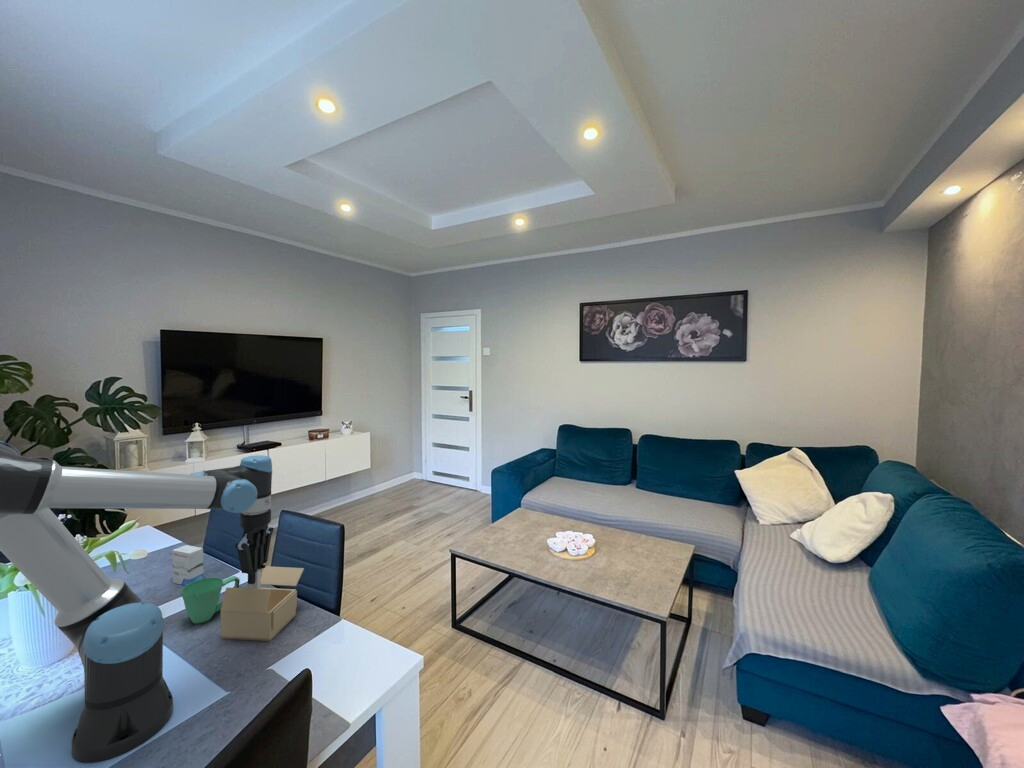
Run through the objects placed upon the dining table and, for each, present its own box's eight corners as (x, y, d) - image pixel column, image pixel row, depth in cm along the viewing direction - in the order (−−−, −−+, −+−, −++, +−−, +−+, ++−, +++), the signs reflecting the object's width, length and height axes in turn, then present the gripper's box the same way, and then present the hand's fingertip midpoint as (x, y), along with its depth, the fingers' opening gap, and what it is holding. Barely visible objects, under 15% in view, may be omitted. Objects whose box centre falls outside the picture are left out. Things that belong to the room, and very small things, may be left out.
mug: (188, 633, 113) (188, 598, 113) (176, 620, 119) (176, 587, 118) (246, 608, 125) (246, 577, 125) (232, 598, 131) (232, 568, 130)
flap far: (295, 585, 123) (303, 568, 127) (255, 583, 124) (265, 566, 128) (296, 586, 123) (304, 568, 128) (256, 584, 124) (265, 566, 128)
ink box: (204, 580, 141) (204, 547, 141) (189, 587, 136) (189, 553, 136) (186, 576, 144) (187, 543, 143) (171, 583, 139) (171, 549, 139)
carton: (272, 641, 110) (272, 613, 110) (218, 638, 111) (218, 609, 111) (297, 615, 122) (298, 589, 122) (249, 612, 123) (249, 586, 123)
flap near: (221, 609, 110) (227, 587, 112) (266, 612, 110) (271, 589, 112) (220, 609, 110) (226, 587, 112) (265, 612, 109) (270, 590, 111)
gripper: (252, 519, 107) (251, 606, 108) (282, 504, 120) (281, 581, 121) (225, 518, 108) (224, 605, 108) (258, 502, 121) (257, 580, 121)
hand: (254, 592), depth 114 cm, fingers closed
